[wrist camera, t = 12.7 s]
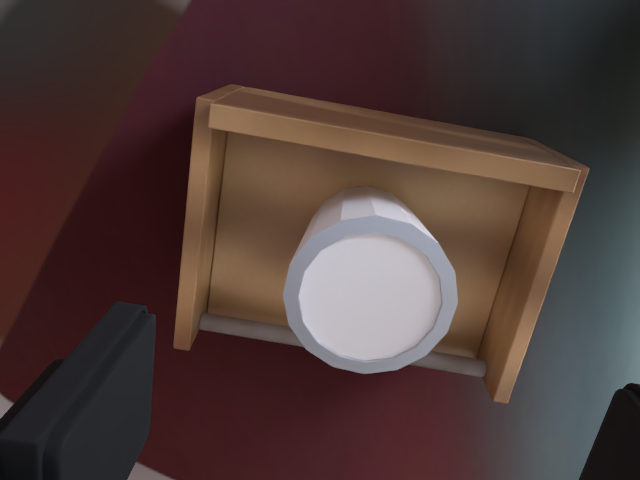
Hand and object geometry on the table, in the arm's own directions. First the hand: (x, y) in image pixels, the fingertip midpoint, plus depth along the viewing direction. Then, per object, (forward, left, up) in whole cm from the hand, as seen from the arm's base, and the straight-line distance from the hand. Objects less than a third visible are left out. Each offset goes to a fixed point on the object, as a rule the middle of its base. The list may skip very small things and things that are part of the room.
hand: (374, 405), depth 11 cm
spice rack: (-1, +3, -21) cm, 21 cm away
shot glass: (-1, +2, -17) cm, 17 cm away
